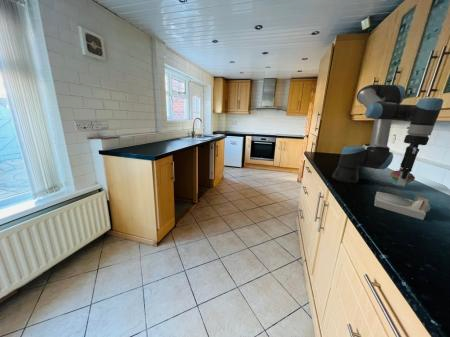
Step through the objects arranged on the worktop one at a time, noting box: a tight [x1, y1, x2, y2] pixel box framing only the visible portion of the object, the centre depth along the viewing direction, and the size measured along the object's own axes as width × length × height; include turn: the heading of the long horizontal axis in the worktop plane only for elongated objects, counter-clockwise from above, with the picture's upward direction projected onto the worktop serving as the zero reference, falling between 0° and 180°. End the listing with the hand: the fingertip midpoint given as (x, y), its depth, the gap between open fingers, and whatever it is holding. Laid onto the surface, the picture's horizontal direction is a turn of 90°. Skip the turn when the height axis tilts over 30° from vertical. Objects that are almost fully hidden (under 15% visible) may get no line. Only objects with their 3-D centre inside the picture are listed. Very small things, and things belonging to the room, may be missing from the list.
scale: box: [374, 191, 431, 221], centre depth 89 cm, size 16×18×8 cm
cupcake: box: [389, 169, 416, 188], centre depth 87 cm, size 9×8×12 cm
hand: (399, 182), depth 88 cm, fingers closed on cupcake, 8 cm apart
